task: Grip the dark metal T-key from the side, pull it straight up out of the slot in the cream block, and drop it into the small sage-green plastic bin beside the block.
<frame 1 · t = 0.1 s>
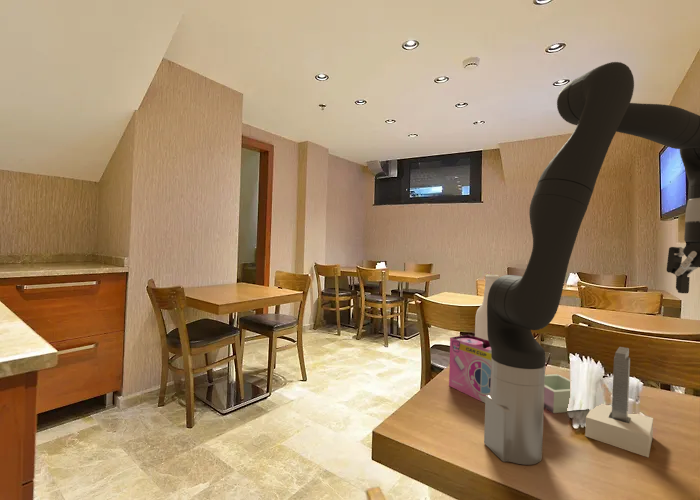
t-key: (620, 393, 72), in the key block
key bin: (555, 402, 88), on the table
key block: (618, 436, 73), on the table
gum box: (492, 400, 89), on the table
alcohol: (488, 373, 108), on the table
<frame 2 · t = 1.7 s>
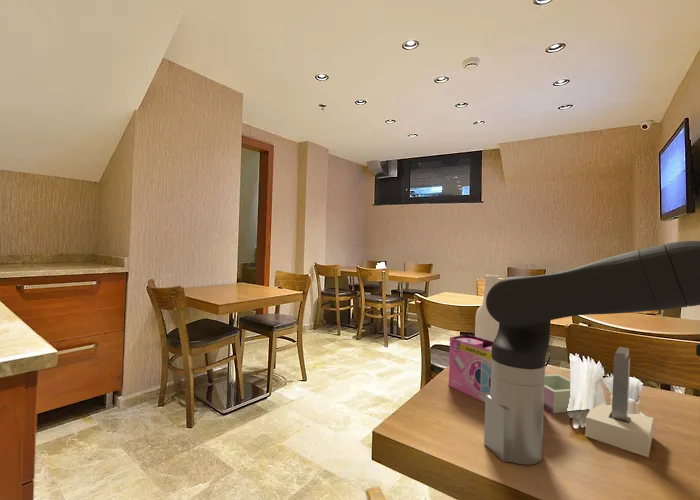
hand: (698, 345, 64), 22 cm above the table, tool horizontal, fingers open, 8 cm apart
nothing on the table moved.
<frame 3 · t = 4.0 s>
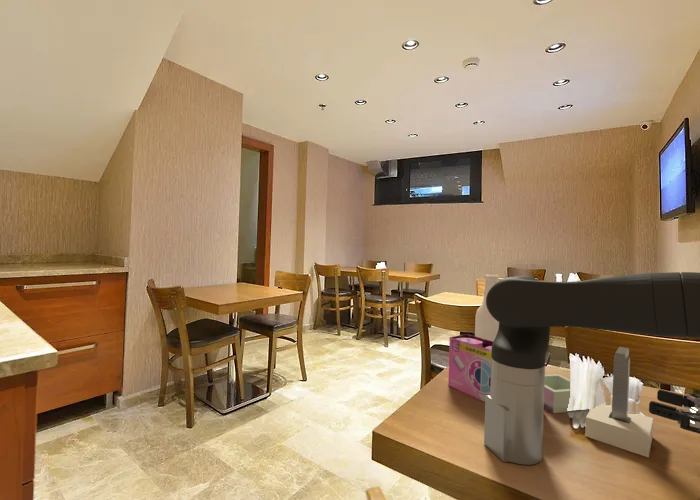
hand: (653, 400, 68), 9 cm above the table, tool horizontal, fingers open, 8 cm apart
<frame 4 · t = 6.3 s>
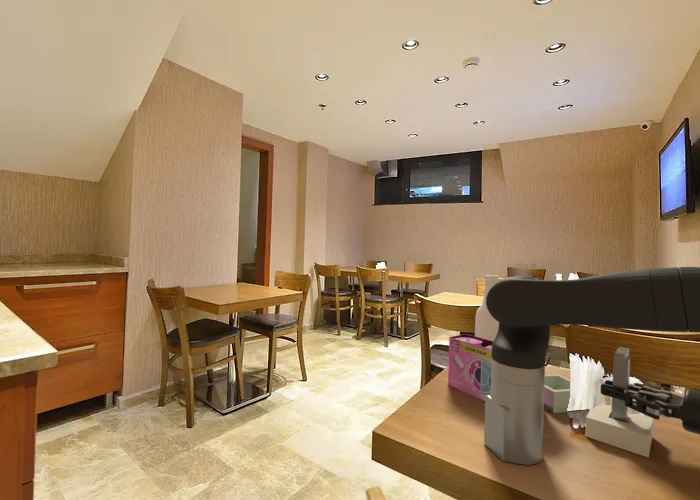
hand: (603, 386, 74), 10 cm above the table, tool horizontal, fingers closed on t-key, 2 cm apart
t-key: (620, 393, 72), in the key block, touching gripper
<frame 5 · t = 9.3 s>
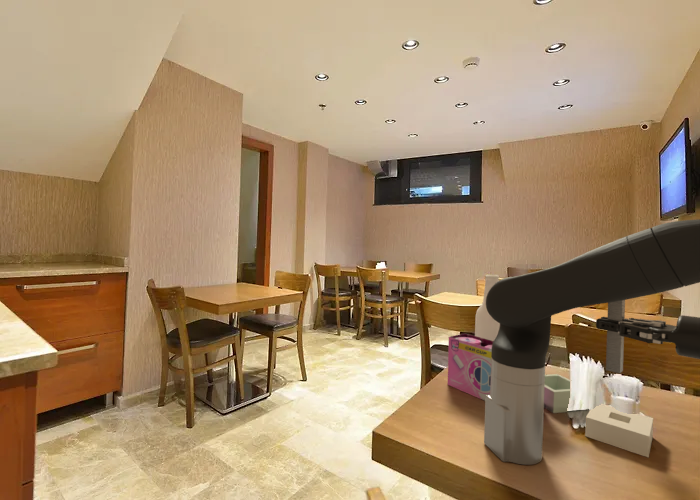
hand: (599, 322, 76), 23 cm above the table, tool horizontal, fingers closed on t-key, 2 cm apart
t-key: (615, 327, 74), point 22 cm above the table, touching gripper
when the fingers open (11 cm above the table, at t = 12.7 s): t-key stays where it is, resting on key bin.
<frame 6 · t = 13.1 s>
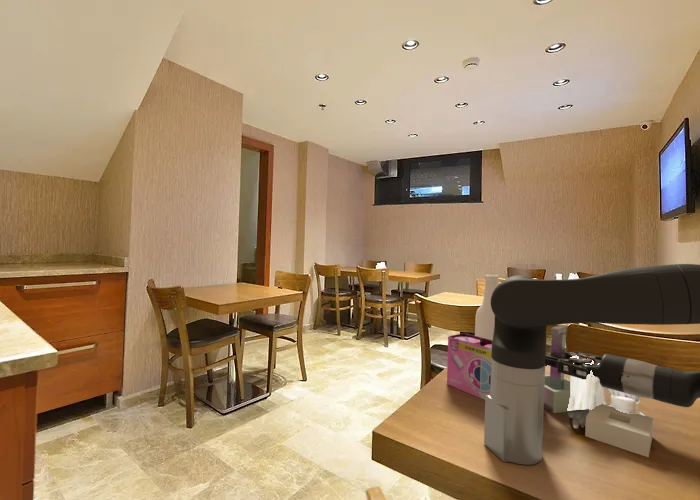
hand: (547, 356, 90), 11 cm above the table, tool horizontal, fingers open, 6 cm apart
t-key: (557, 362, 88), in the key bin, point 10 cm above the table
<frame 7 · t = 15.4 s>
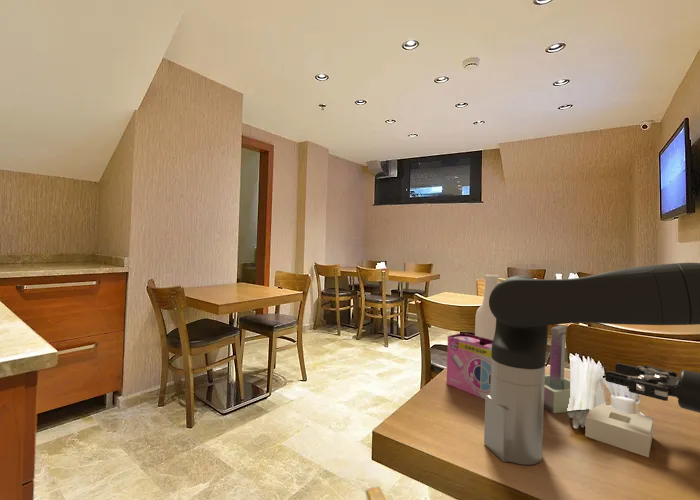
hand: (610, 371, 79), 11 cm above the table, tool horizontal, fingers open, 8 cm apart
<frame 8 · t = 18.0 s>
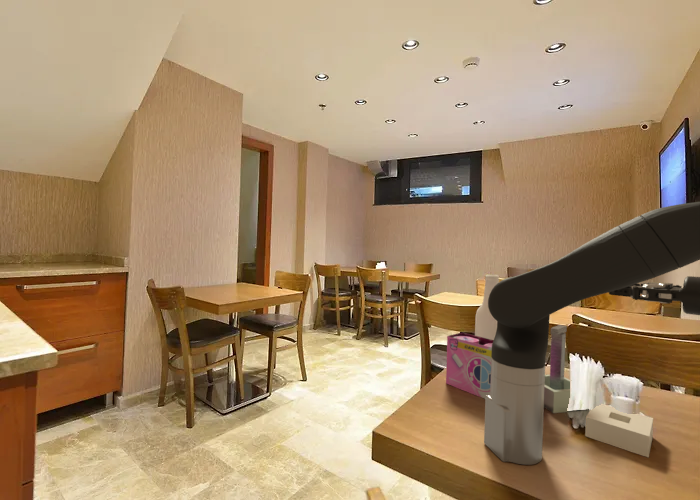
hand: (614, 288, 79), 30 cm above the table, tool horizontal, fingers open, 8 cm apart
at the end: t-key inside the target area on the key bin (0.1 cm from its centre), point 10.0 cm above the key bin's base; the gripper is holding nothing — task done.
